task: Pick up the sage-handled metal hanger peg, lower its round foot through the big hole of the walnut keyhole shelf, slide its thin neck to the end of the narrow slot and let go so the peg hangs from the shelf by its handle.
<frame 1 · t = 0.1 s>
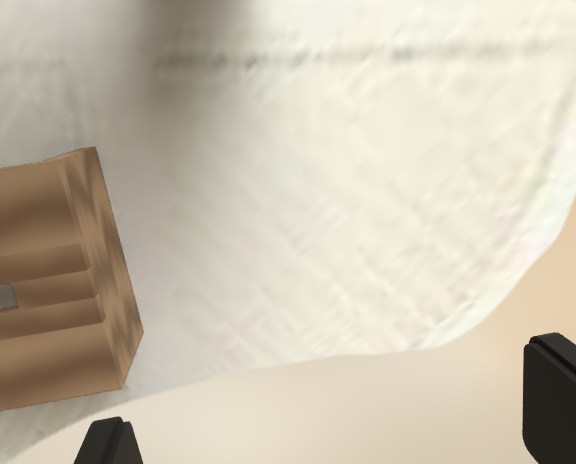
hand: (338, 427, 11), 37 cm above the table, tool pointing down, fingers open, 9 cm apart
keyhole shelf: (9, 263, 45), on the table
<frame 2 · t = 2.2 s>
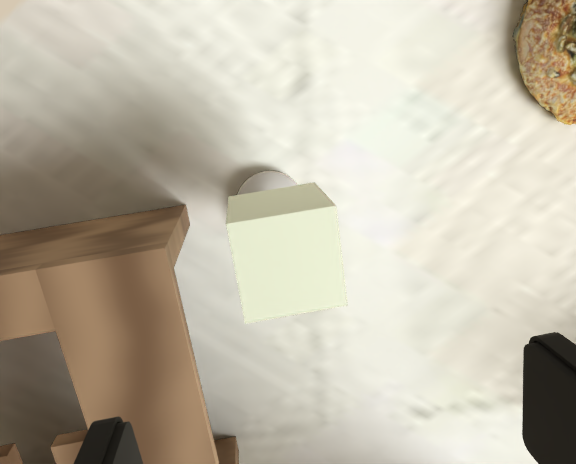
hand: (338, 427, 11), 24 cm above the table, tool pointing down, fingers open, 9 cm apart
keyhole shelf: (86, 361, 35), on the table
hanger peg: (269, 204, 33), on the table
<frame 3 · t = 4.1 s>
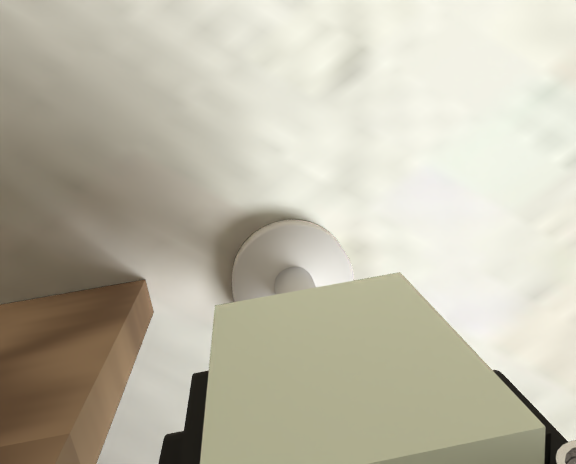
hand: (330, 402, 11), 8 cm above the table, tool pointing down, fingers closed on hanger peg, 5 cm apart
hanger peg: (290, 275, 19), on the table, touching gripper
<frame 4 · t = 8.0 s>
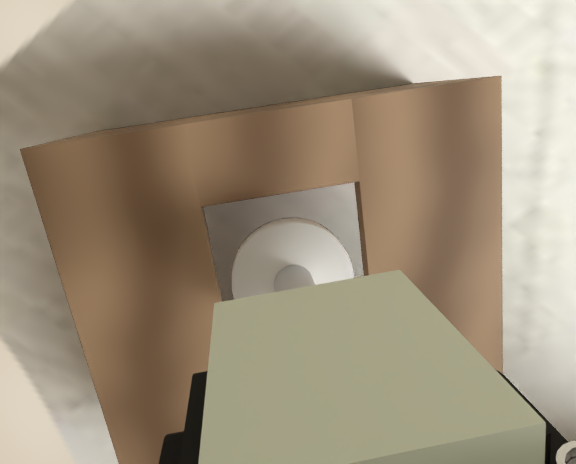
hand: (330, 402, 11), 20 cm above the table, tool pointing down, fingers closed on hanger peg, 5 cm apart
keyhole shelf: (283, 270, 31), on the table
hanger peg: (290, 274, 19), point 11 cm above the table, touching gripper
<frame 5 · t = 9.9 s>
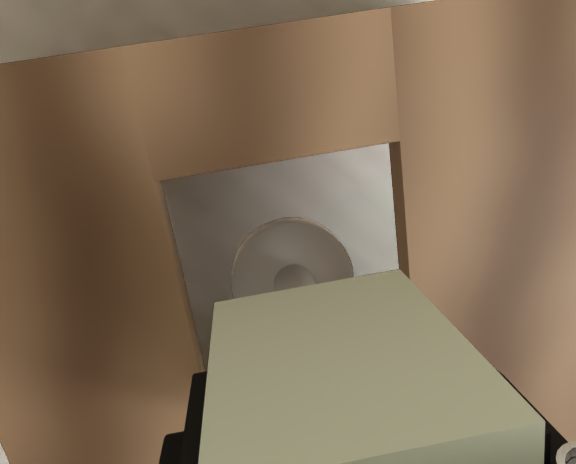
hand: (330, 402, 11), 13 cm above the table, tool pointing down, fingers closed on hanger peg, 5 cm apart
keyhole shelf: (282, 273, 24), on the table
hanger peg: (290, 273, 19), point 5 cm above the table, touching gripper
when the fingers open (12 cm above the table, at t = 11.8 s): hanger peg stays where it is, resting on keyhole shelf.
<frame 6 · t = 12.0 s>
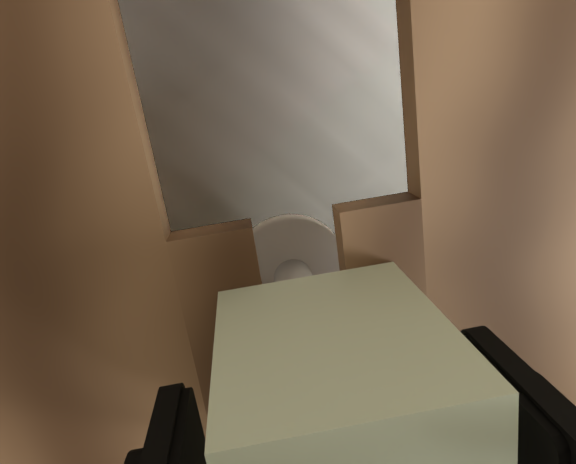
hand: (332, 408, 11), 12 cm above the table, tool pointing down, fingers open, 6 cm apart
keyhole shelf: (270, 176, 22), on the table
hanger peg: (289, 268, 20), point 3 cm above the table, touching keyhole shelf
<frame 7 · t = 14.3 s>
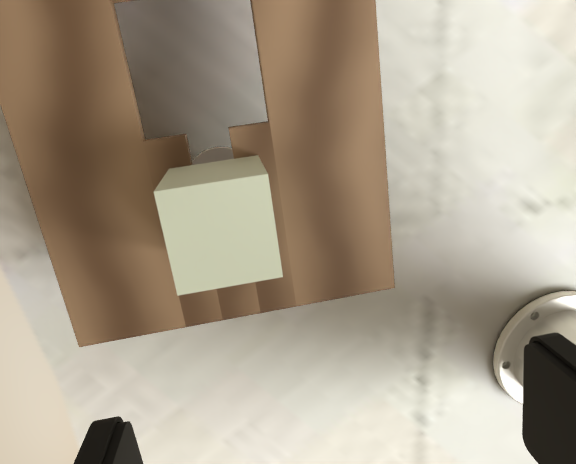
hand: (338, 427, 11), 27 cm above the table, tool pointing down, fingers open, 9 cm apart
keyhole shelf: (212, 126, 35), on the table
hanger peg: (221, 181, 33), point 3 cm above the table, touching keyhole shelf
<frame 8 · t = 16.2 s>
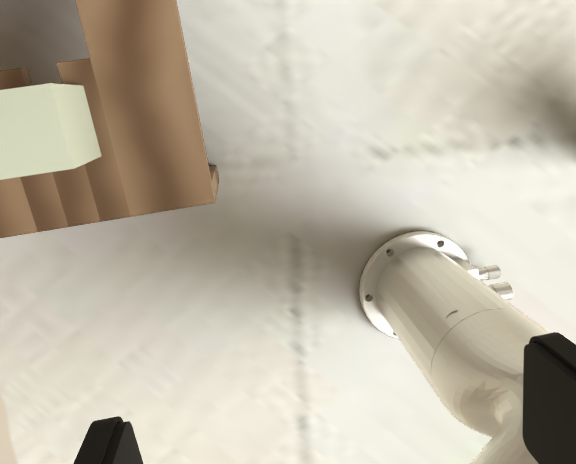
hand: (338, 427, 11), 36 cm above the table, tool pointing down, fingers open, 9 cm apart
keyhole shelf: (85, 78, 41), on the table
hanger peg: (87, 121, 39), point 3 cm above the table, touching keyhole shelf
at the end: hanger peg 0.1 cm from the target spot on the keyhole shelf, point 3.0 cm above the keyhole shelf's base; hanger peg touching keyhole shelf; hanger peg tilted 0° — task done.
